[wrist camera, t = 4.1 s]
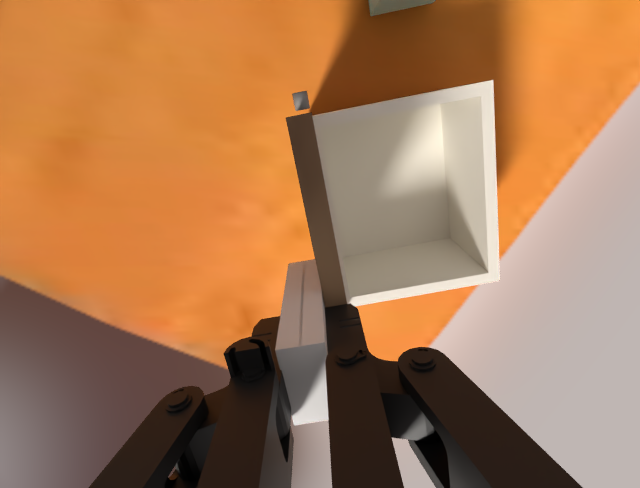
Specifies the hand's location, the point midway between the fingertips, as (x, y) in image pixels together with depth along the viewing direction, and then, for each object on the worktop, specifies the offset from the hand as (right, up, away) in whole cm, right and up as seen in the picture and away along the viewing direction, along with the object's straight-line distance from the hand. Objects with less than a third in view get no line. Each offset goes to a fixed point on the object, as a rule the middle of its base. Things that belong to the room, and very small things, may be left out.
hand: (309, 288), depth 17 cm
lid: (+1, +1, +3) cm, 3 cm away
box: (+7, +8, +17) cm, 20 cm away
